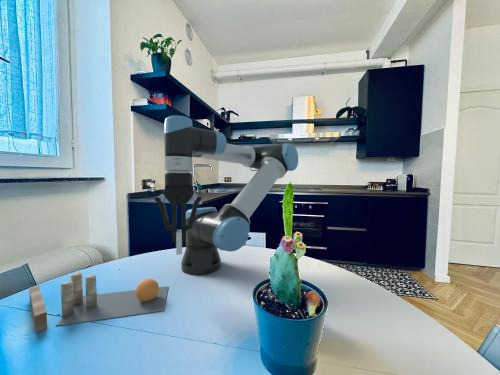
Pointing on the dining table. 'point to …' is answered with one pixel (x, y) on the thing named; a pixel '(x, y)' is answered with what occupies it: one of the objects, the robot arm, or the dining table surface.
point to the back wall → (38, 309)
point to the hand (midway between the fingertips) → (179, 252)
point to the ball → (147, 290)
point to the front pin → (91, 291)
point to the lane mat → (116, 307)
